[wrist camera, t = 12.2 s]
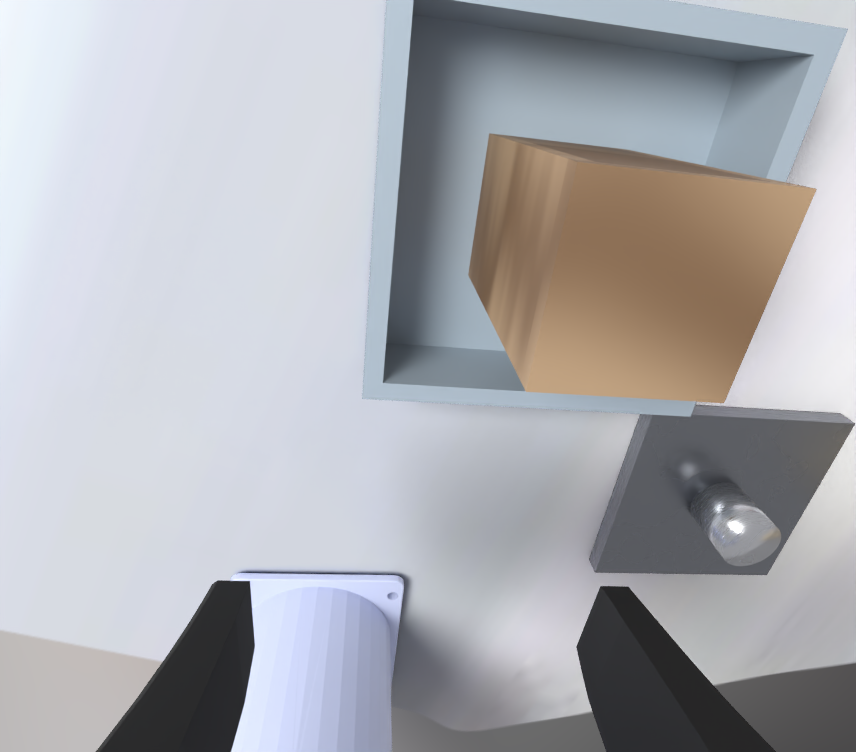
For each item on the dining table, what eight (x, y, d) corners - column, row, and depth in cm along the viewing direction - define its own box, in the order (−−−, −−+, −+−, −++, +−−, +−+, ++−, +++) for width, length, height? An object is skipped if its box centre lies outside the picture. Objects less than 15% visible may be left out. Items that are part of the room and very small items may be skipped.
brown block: (591, 285, 18) (724, 402, 11) (467, 275, 18) (526, 392, 11) (627, 149, 16) (816, 188, 9) (489, 133, 16) (577, 161, 9)
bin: (643, 369, 21) (690, 416, 18) (365, 350, 19) (362, 398, 16) (755, 42, 16) (848, 28, 12) (386, -14, 14) (389, -45, 11)
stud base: (756, 562, 27) (802, 619, 24) (589, 559, 25) (615, 618, 23) (840, 413, 22) (908, 460, 20) (644, 402, 21) (685, 450, 18)
